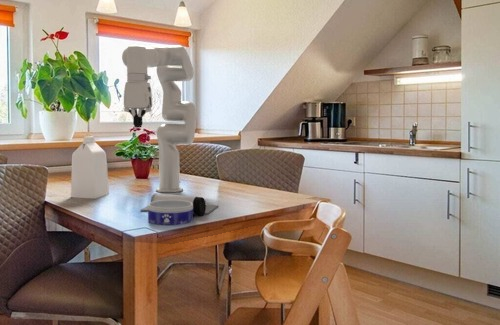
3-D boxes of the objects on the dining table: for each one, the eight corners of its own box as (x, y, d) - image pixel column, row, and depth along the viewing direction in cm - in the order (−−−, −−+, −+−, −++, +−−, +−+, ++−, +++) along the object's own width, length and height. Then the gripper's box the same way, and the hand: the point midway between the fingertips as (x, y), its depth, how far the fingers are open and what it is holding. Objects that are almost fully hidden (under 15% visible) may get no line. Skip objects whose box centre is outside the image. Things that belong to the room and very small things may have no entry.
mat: (155, 203, 192) (155, 202, 192) (218, 206, 187) (218, 205, 187) (140, 211, 177) (140, 209, 177) (207, 214, 172) (207, 213, 172)
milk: (95, 198, 202) (94, 137, 200) (71, 197, 204) (69, 136, 202) (109, 193, 214) (108, 136, 211) (85, 192, 216) (84, 135, 214)
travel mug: (149, 210, 173) (200, 215, 167) (151, 192, 173) (201, 197, 168) (157, 211, 179) (206, 215, 173) (158, 193, 179) (208, 197, 174)
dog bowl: (194, 216, 171) (194, 199, 170) (191, 226, 155) (191, 208, 155) (152, 215, 170) (152, 199, 169) (144, 225, 155) (144, 207, 154)
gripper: (159, 79, 182) (160, 127, 184) (123, 79, 185) (124, 126, 187) (152, 78, 175) (152, 127, 177) (114, 78, 178) (115, 127, 180)
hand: (137, 127), depth 182 cm, fingers closed
